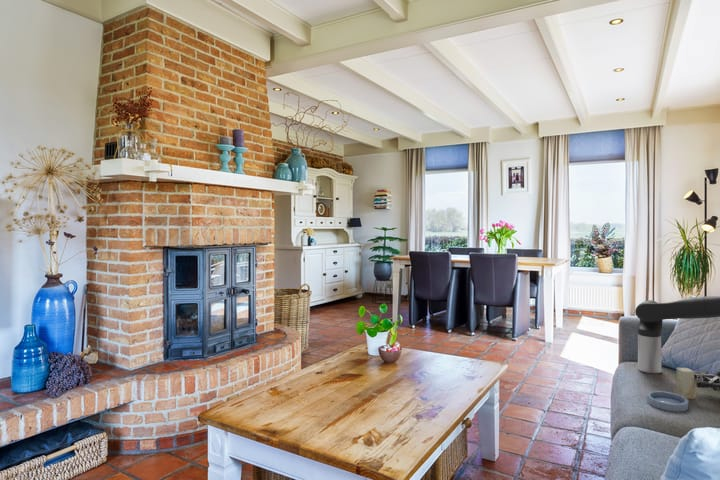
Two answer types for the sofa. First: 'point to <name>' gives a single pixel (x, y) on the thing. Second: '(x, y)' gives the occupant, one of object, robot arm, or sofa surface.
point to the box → (685, 383)
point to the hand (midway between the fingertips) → (690, 380)
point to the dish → (667, 401)
